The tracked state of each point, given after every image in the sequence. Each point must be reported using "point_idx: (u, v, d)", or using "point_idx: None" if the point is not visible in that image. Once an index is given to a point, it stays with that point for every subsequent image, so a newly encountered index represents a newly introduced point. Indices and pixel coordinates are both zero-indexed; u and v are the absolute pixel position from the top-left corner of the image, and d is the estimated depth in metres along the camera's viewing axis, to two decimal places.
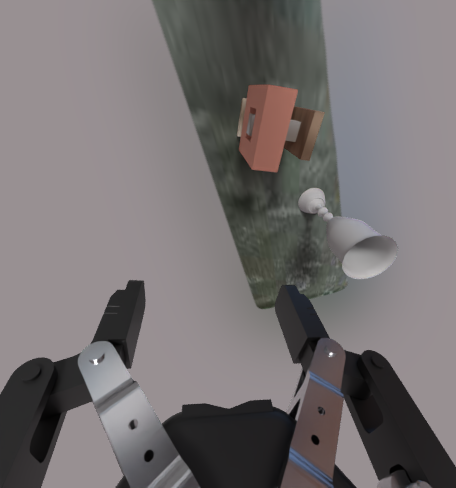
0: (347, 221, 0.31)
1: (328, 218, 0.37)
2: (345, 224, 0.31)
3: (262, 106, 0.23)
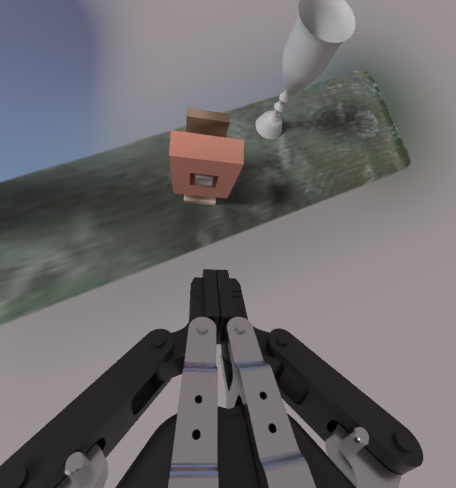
0: (286, 63, 0.29)
1: (285, 95, 0.35)
2: (290, 63, 0.29)
3: (187, 161, 0.25)
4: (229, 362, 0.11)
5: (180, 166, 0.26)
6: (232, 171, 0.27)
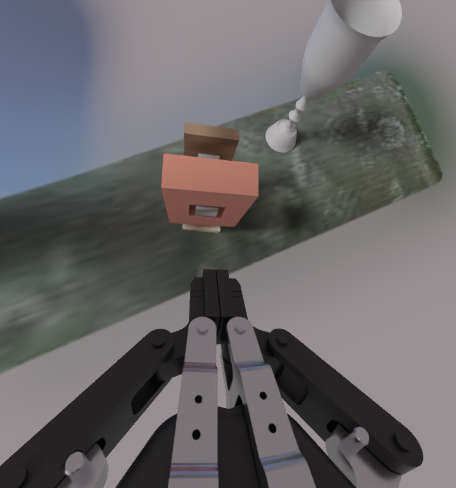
0: (309, 64, 0.23)
1: (303, 102, 0.29)
2: (314, 64, 0.23)
3: (184, 193, 0.19)
4: (229, 362, 0.11)
5: (176, 198, 0.20)
6: (243, 202, 0.21)
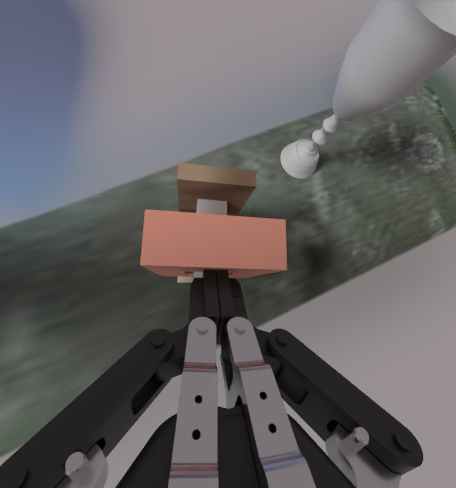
0: (352, 77, 0.17)
1: (334, 122, 0.23)
2: (361, 77, 0.16)
3: (177, 267, 0.13)
4: (229, 362, 0.11)
5: (165, 269, 0.14)
6: (262, 271, 0.15)
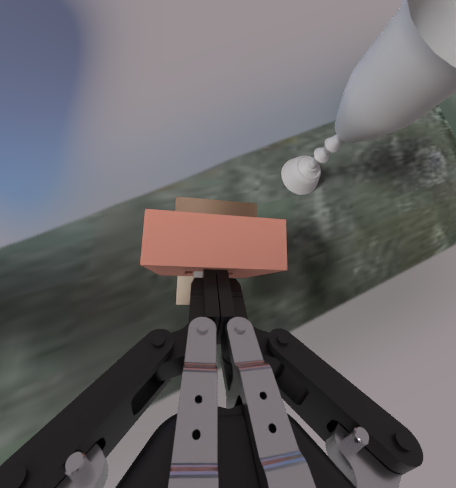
0: (356, 103, 0.16)
1: (336, 143, 0.22)
2: (365, 104, 0.16)
3: (177, 267, 0.13)
4: (229, 362, 0.11)
5: (166, 268, 0.14)
6: (262, 271, 0.15)
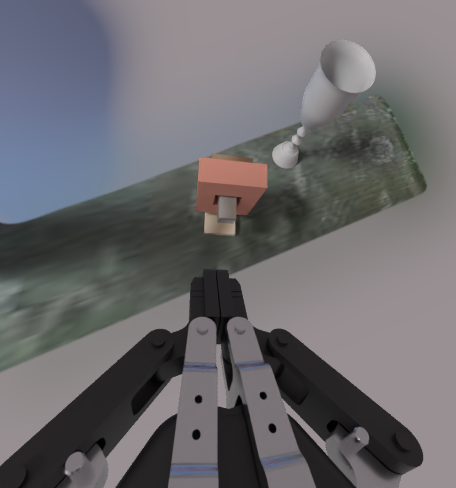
0: (306, 106, 0.30)
1: (303, 130, 0.36)
2: (310, 107, 0.30)
3: (214, 185, 0.27)
4: (229, 362, 0.11)
5: (207, 189, 0.28)
6: (255, 193, 0.29)
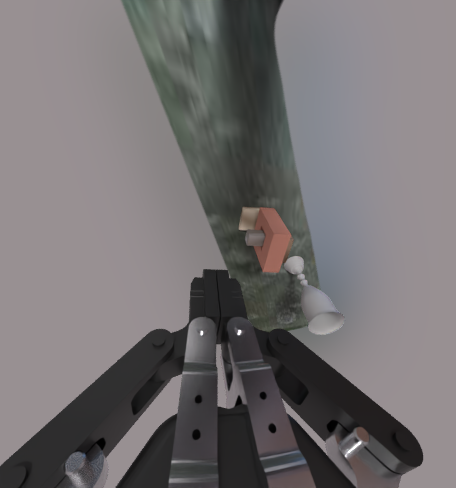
0: (313, 295, 0.46)
1: (303, 284, 0.52)
2: (311, 297, 0.46)
3: (269, 241, 0.39)
4: (229, 362, 0.11)
5: (269, 233, 0.39)
6: (261, 261, 0.43)
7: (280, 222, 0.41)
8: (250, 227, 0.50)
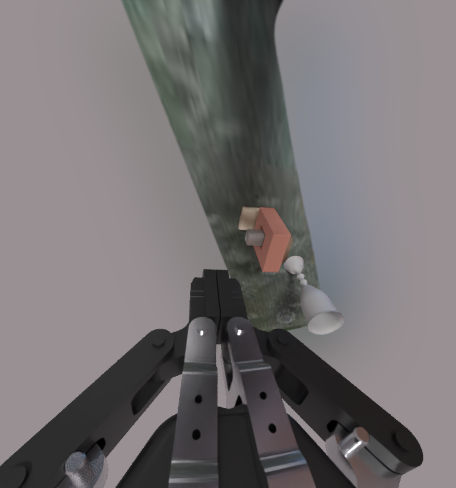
0: (313, 294, 0.46)
1: (303, 284, 0.52)
2: (311, 297, 0.46)
3: (269, 240, 0.39)
4: (229, 362, 0.11)
5: (268, 233, 0.39)
6: (261, 261, 0.43)
7: (280, 222, 0.41)
8: (250, 227, 0.50)
